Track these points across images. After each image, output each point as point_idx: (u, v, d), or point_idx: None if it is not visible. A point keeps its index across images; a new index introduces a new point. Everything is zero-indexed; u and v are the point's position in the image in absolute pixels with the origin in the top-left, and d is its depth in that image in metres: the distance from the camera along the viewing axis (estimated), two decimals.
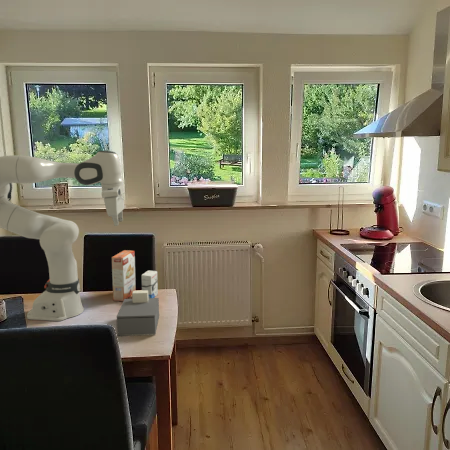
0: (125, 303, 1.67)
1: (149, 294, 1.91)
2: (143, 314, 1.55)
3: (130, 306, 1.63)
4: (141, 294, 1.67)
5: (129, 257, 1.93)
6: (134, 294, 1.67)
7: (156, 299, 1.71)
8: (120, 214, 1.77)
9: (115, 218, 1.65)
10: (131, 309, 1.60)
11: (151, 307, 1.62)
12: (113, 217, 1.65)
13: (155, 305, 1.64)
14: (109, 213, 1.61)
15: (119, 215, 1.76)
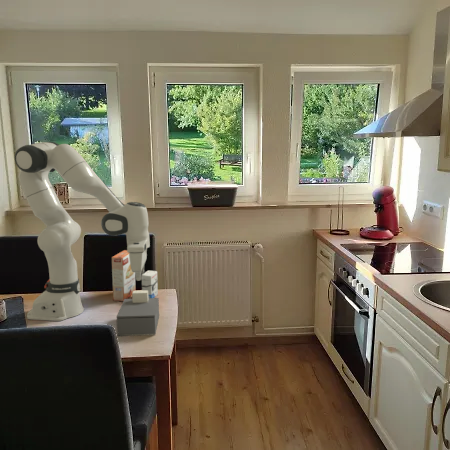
0: (125, 303, 1.67)
1: (149, 294, 1.91)
2: (143, 314, 1.55)
3: (130, 306, 1.63)
4: (141, 294, 1.67)
5: None
6: (134, 294, 1.67)
7: (156, 299, 1.71)
8: (142, 265, 1.72)
9: (138, 273, 1.60)
10: (131, 309, 1.60)
11: (151, 307, 1.62)
12: (136, 272, 1.60)
13: (155, 305, 1.64)
14: (134, 269, 1.56)
15: None
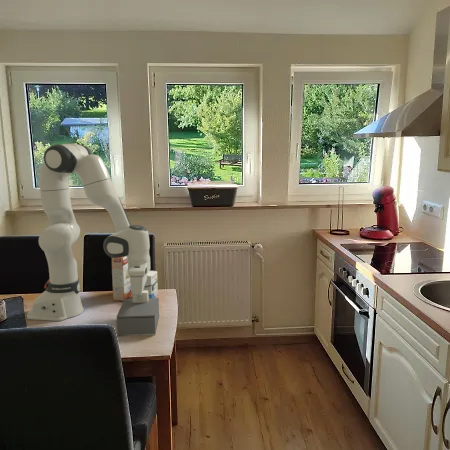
0: (125, 303, 1.67)
1: (149, 294, 1.91)
2: (143, 314, 1.55)
3: (130, 306, 1.63)
4: None
5: None
6: None
7: (156, 299, 1.71)
8: None
9: None
10: (131, 309, 1.60)
11: (151, 307, 1.63)
12: None
13: (155, 305, 1.64)
14: (134, 293, 1.58)
15: None
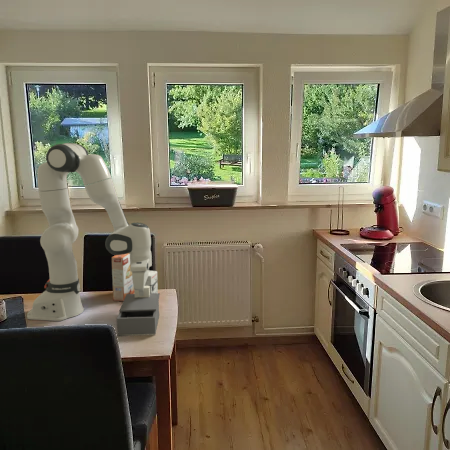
0: (128, 298, 1.72)
1: None
2: (145, 308, 1.61)
3: (132, 301, 1.69)
4: None
5: (129, 257, 1.93)
6: None
7: (157, 294, 1.76)
8: None
9: None
10: (133, 303, 1.66)
11: (152, 301, 1.68)
12: None
13: (156, 300, 1.70)
14: (136, 288, 1.63)
15: None
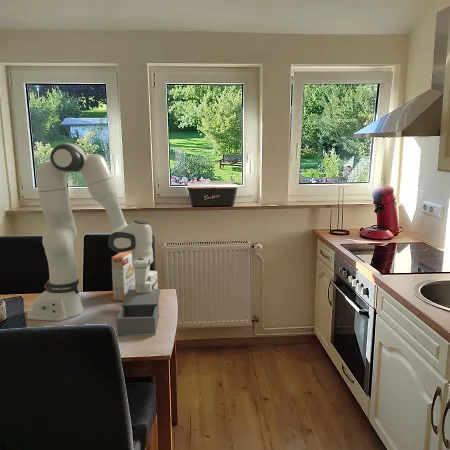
0: (130, 293, 1.78)
1: None
2: (146, 303, 1.67)
3: (134, 296, 1.74)
4: None
5: (129, 257, 1.93)
6: None
7: (158, 290, 1.82)
8: None
9: None
10: (135, 298, 1.71)
11: (153, 296, 1.74)
12: None
13: (157, 295, 1.75)
14: (138, 283, 1.69)
15: None
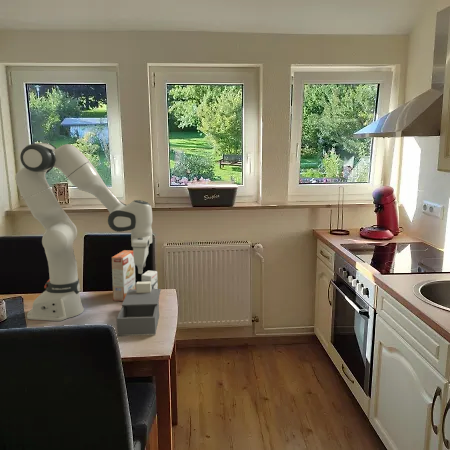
0: (130, 293, 1.78)
1: None
2: (146, 303, 1.67)
3: (134, 296, 1.74)
4: (144, 285, 1.78)
5: (129, 257, 1.93)
6: (138, 285, 1.78)
7: (158, 290, 1.82)
8: None
9: (140, 267, 1.71)
10: (135, 298, 1.71)
11: (153, 296, 1.74)
12: (138, 265, 1.71)
13: (157, 295, 1.75)
14: (136, 263, 1.67)
15: None
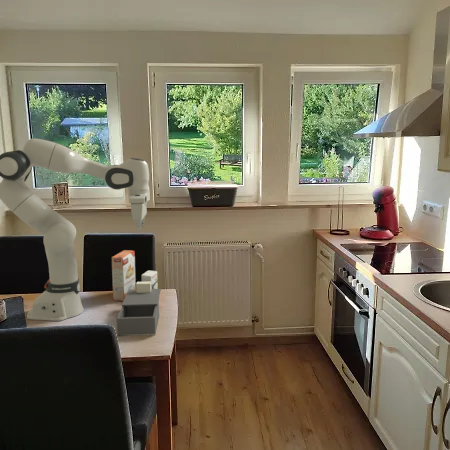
0: (130, 293, 1.78)
1: None
2: (146, 303, 1.67)
3: (134, 296, 1.74)
4: (144, 285, 1.78)
5: (129, 257, 1.93)
6: (138, 285, 1.78)
7: (158, 290, 1.82)
8: (142, 219, 1.84)
9: (139, 223, 1.73)
10: (135, 298, 1.71)
11: (153, 296, 1.74)
12: (137, 222, 1.72)
13: (157, 295, 1.75)
14: (135, 219, 1.68)
15: None
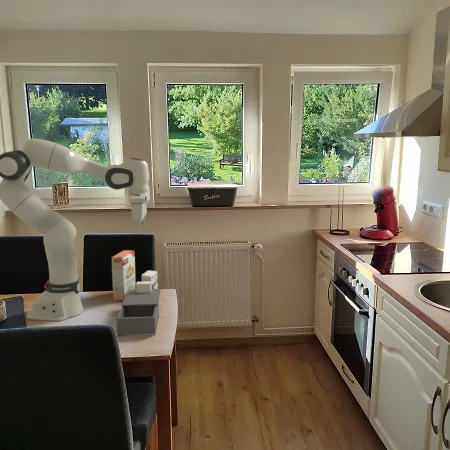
0: (130, 293, 1.78)
1: None
2: (146, 303, 1.67)
3: (134, 296, 1.74)
4: (144, 285, 1.78)
5: (129, 257, 1.93)
6: (138, 285, 1.78)
7: (158, 290, 1.82)
8: (142, 219, 1.84)
9: (139, 223, 1.73)
10: (135, 298, 1.71)
11: (153, 296, 1.74)
12: (137, 222, 1.72)
13: (157, 295, 1.75)
14: (135, 218, 1.68)
15: None
